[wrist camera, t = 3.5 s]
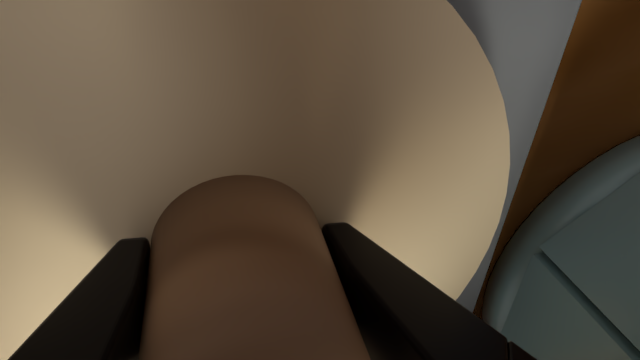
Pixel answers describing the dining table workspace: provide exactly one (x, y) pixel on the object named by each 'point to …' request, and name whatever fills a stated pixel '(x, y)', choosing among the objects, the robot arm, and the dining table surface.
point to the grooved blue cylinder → (575, 267)
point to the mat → (517, 79)
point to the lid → (241, 161)
